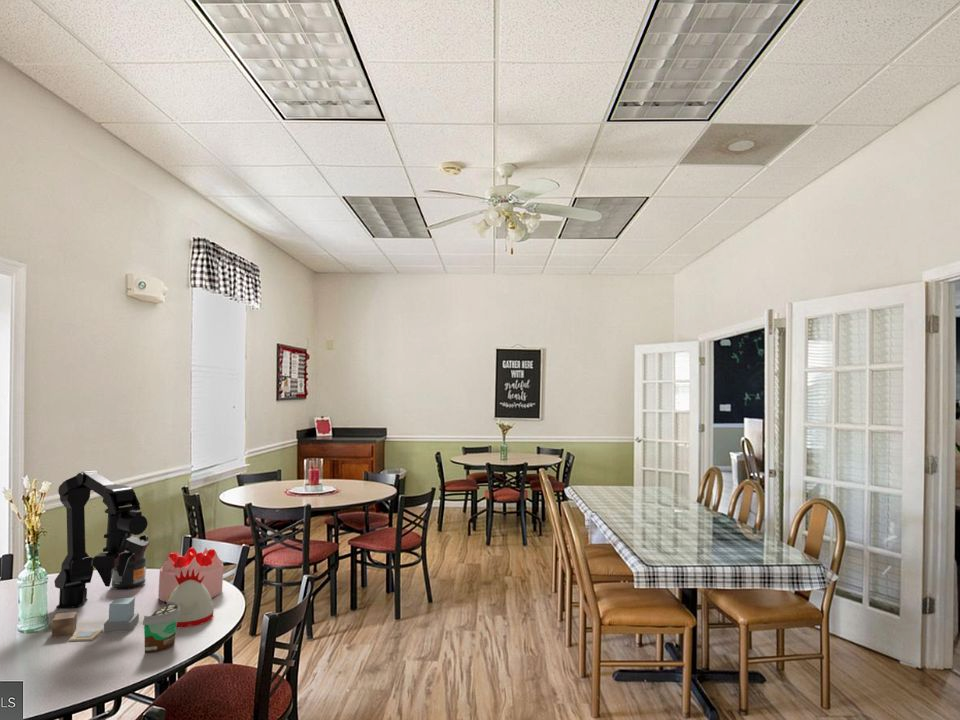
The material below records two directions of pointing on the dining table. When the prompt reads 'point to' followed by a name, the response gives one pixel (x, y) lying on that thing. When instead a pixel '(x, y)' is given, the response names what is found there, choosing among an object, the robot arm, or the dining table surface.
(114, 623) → the base block
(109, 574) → the robot arm
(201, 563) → the cake
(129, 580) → the supplement container
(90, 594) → the dining table surface
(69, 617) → the walnut cube
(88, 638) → the tan flat square frame
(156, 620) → the food container
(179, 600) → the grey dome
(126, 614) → the slate cube
